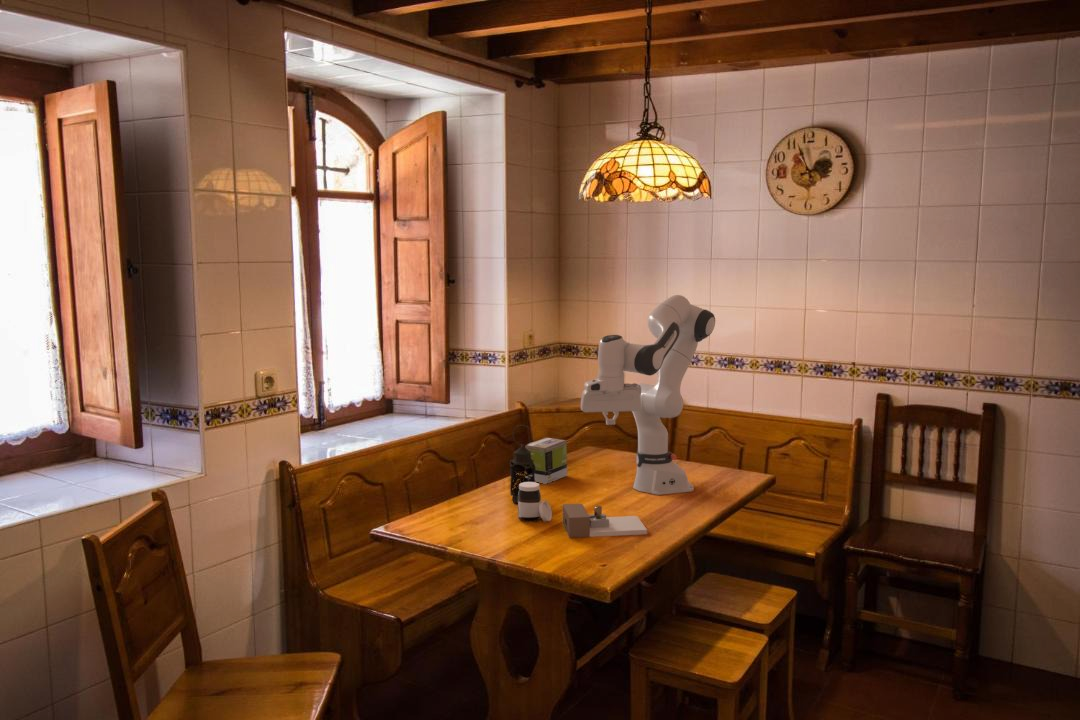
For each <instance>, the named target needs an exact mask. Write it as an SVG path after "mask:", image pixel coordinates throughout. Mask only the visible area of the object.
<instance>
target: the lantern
mask: <svg viewBox="0 0 1080 720" xmlns="http://www.w3.org/2000/svg"><path fill="white" fill-rule="evenodd" d="M519 426H522V427H526V428H528V429H529V431H530V433H531V435H533V431H532V429H531V428H530V427H529V426H527V425H525V424H519V425H516V426H515V427H514V428H513V430H512V439H513V441H514V442H515V443H516V445H519V446H520V447H519V448H518V449H516V450H515V451H514V452H513V454H514V456H513V459H510V460H509V468H510V488H509V491H510V496H511V501H513V504H515V503H518V492H519V490H520V489H519V484H520V483H523V482H535V470H536V468H535V464H534V463H533V461H534V460H532V459H531V451H529V450H527V449H526V448H525V445H528V444H530V443H532V441H533V437H531V439H530V441H529V442H528V443H526V444H523V443H522V444H520V443H518V442H517V441H516V440H515V438H514V432H515V430H516V428H518V427H519ZM526 465H527V466H526ZM526 469H527V470H526ZM526 471H527V474H526ZM532 471H533V472H532ZM529 475H532V477H531V476H529ZM526 476H528V478H526ZM529 478H530V479H529ZM528 479H529V480H528Z"/></svg>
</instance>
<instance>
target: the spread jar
mask: <svg viewBox="0 0 1080 720" xmlns="http://www.w3.org/2000/svg"><path fill="white" fill-rule="evenodd" d="M519 489H520V490H519V492H518V504H517V516H518V519H519V520H521V521H523V520H524V521H523V522H535V520H536V521H538V520H540V519H542V521H543V522H546V523H547V522H551V520H552V519H553V512H552V507H551V505H550V503H549V502H548V501H547V500H542V497H541V491H540V483H536V482H523V483H520V484H519Z"/></svg>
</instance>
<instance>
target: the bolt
mask: <svg viewBox="0 0 1080 720" xmlns="http://www.w3.org/2000/svg"><path fill="white" fill-rule="evenodd" d="M602 509H603V506H601V505H595V506H594V509H593V510H594V511H593V514H594V518H590V519H604V518H603V517H602V514H603V510H602Z"/></svg>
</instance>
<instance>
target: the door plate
mask: <svg viewBox="0 0 1080 720" xmlns="http://www.w3.org/2000/svg"><path fill="white" fill-rule="evenodd" d="M602 517H603V518H604V519H590V518H594V513H592V514H589V513H588V512H587V509H586V507H585V506H584V504H583V503H566V504H565V503H564V504H563V503H562V525H563V528H564V530H565V532H566V534H567V535H568V536H567V537H568V538H569V539H570V538H571V539H572V538H575V539H576V538H592V537H593V538H597V537H615V536H616V537H617V536H638V535H639V536H640V535H641V536H642V535H647V534H648V529H647V527H645V525H644V523H643V522H642V521H641V520H640V518H639V517H638V515H629V516H628V515H627V516H607V514H606V513H602Z"/></svg>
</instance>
